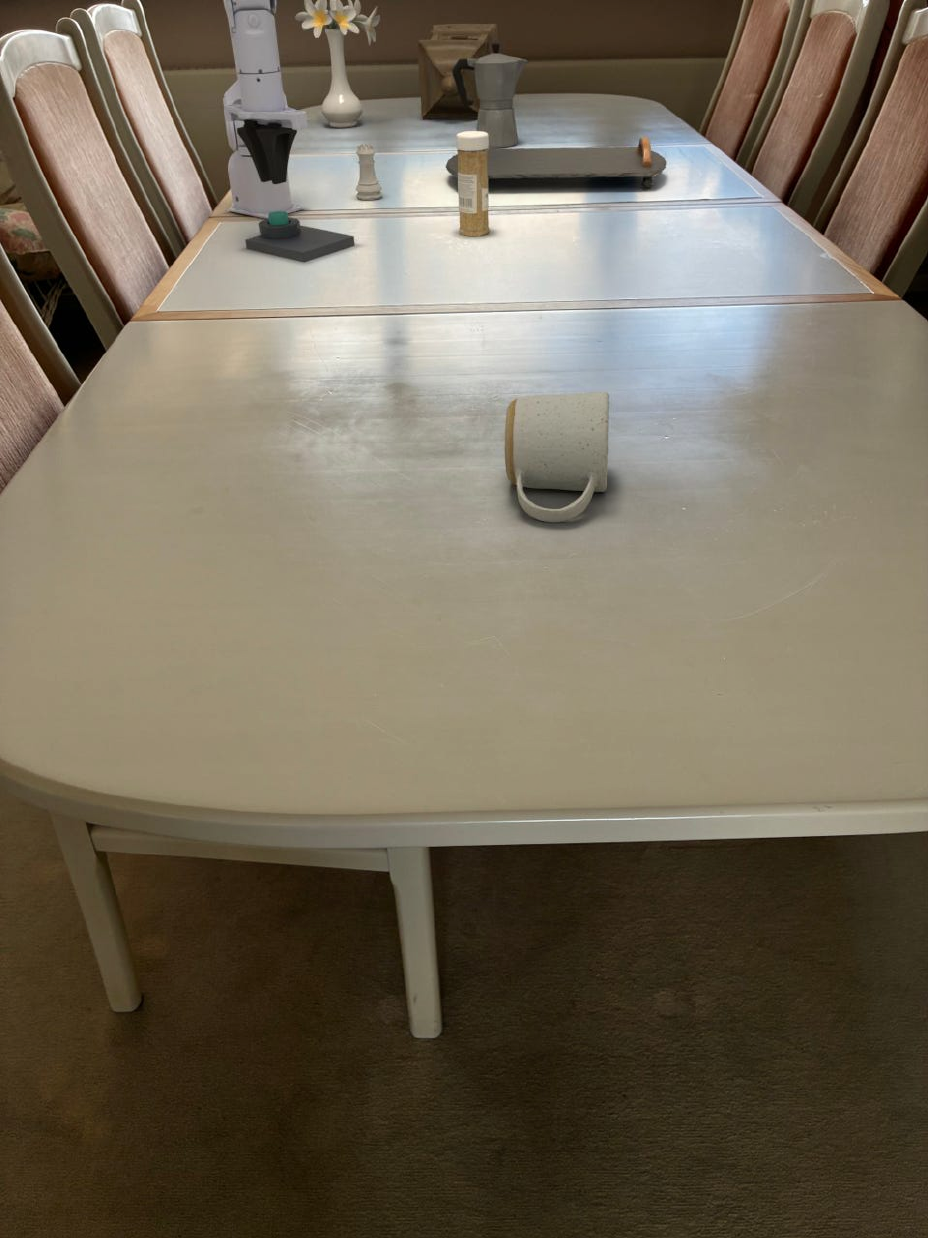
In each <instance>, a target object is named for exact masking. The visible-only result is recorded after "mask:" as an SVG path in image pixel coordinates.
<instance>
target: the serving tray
mask: <svg viewBox="0 0 928 1238" xmlns="http://www.w3.org/2000/svg"><path fill="white" fill-rule="evenodd" d="M487 149H488V151H487V163H488V165H487V167H488V179H535V178H536V179H540V178H541V179H542V178H543V179H545V178H547V179H548V178H620V177H621V178H623V177H624V178H626V177H629V178H630V177H632V178H633V177H642V178H641V180H640V186H641V187H642V190H651V189H652V187H653V185H654V177H655V176H657V175H659V174H662V172H664V170H665V169H666V168H667V163H668V162H667V160H666V157H664V156H663V155H661V154H660V153H659V152H657V151H654V150H652V145H651V141H650V138H649V137H648V136H641V137H640V138H639V140H638V145H637V146H609V147H608V146H596V147H595V146H594V147H593V146H592V147H591V146H589V147H532V148H531V147H530V148H528V147H527V148H524V147H518V148H487ZM445 170H446V171H447V172H448V173H449V174H450V175H452V176H454V177H455V178H457V179H458V153H457V154H455V155H453V156H452V157H450V158H449V159H447V162H446V164H445Z"/></svg>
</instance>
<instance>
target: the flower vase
mask: <svg viewBox="0 0 928 1238" xmlns="http://www.w3.org/2000/svg"><path fill="white" fill-rule="evenodd" d="M347 3H348V5H345V6H344V5H343V2H342V1H341V0H329V10H328V9H327V8H328V1H327V0H316V2H315V4H314V3H313V1H312V0H303V6H304V9H305V11H301V12H298V13H296V15H295V16H294V19H295V20H296V21H298V22H302V23H301V28H302V31H303V32H307V31H308V30H310V29H313V35H314V37H315V38H316V39H318V38H320V36H321V35H322V30H323V27H324V26H325V27H326V28H325V29H324V33H325V34H326V37H327V41H328V47H329V52H330V65H331V83H330V87H329V90H328V91H329V92H328V93H327V94H326V97H325V98H324V99H323V102H322V103H321V113H322V116H323V117H324V118H325V119H326V120H327V121H329V126H330V127H331V128H337V129H339V128H340V129H344V128H346V129H347V128H352V127H355V126H357V124H358V122H357V120H358V119H359V118H360V117H361V116H362V114H363V105H362V102H361V101H360V99H359V98H358V96H357V95H356V94H355V93H354V92H353V90H352V89H351V86H350V84H349V81H348V80H349V79H348V77H347V69H346V62H345V52H344V50H345V49H344V47H345V46H344V42H345V36H346V35H347V34H348V32H349V33H352V32H353V33H354V34H360V29H359V28H358V27H360V28H361V29H362V30H363V31H364V32H365V33H366V36H367V40H368V46H369V47H370V46H371V43H372V42H373V43H376V41H377V33H376V29H375V27H377V26H378V25H379V23H380V20H381V15H379V14H378V15H377V12H378V7H379V6H378V5H376V6H375V8H374V10H373V11H372V12H371V14H370V15H369V16H366V15H365V14H360V13H361V10H362V5H361V2H360V0H355V1H354V4H353V2H352V0H347Z"/></svg>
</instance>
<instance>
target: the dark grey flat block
mask: <svg viewBox="0 0 928 1238" xmlns="http://www.w3.org/2000/svg"><path fill="white" fill-rule="evenodd" d="M288 219H289V223H288V224H285V225H269V219H262V220H261V221H260V222H258V229H259V235H256V236H252V237H249V238H246V239H245V247H246V250H249V251H254V252H258V253H261V254H267V255H271V256H275V257H279V258H284V259H288V260H293V261H296V262H301V263H307V262H310V261H313V260H317V259H319V258H322V257H325V256H328V255H331V254H335V253H337V252H339V251H343V250H346V249H349V248H352V247H355V244H356V243H355V236H354V235H350V234H345V233H339V232H334V231H329V230H325V229H320V228H316V227H311V226H305V225H301V222H300V220H299V219H298V218H296V217H291V216H288Z"/></svg>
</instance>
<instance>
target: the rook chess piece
mask: <svg viewBox="0 0 928 1238" xmlns="http://www.w3.org/2000/svg"><path fill="white" fill-rule="evenodd" d="M355 154H356V155H357V156H358V161H357V163H358V165H359V178H358V182H357V185H356V187H355V190H356V192H357V193H356V194H355V196H356V197H357V199H358V200H360V201H376V200H378V199H381V197H382V196H383V193H382V192H381V191H382V186H381V185H380V183H379V180H378V179H377V175H376V170H375V162H376V161H375V159H374V156H375V154H376V150H375V149H374V145H373V144H368V143H365V146H364V144H359V145H357V149H356V151H355Z"/></svg>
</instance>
